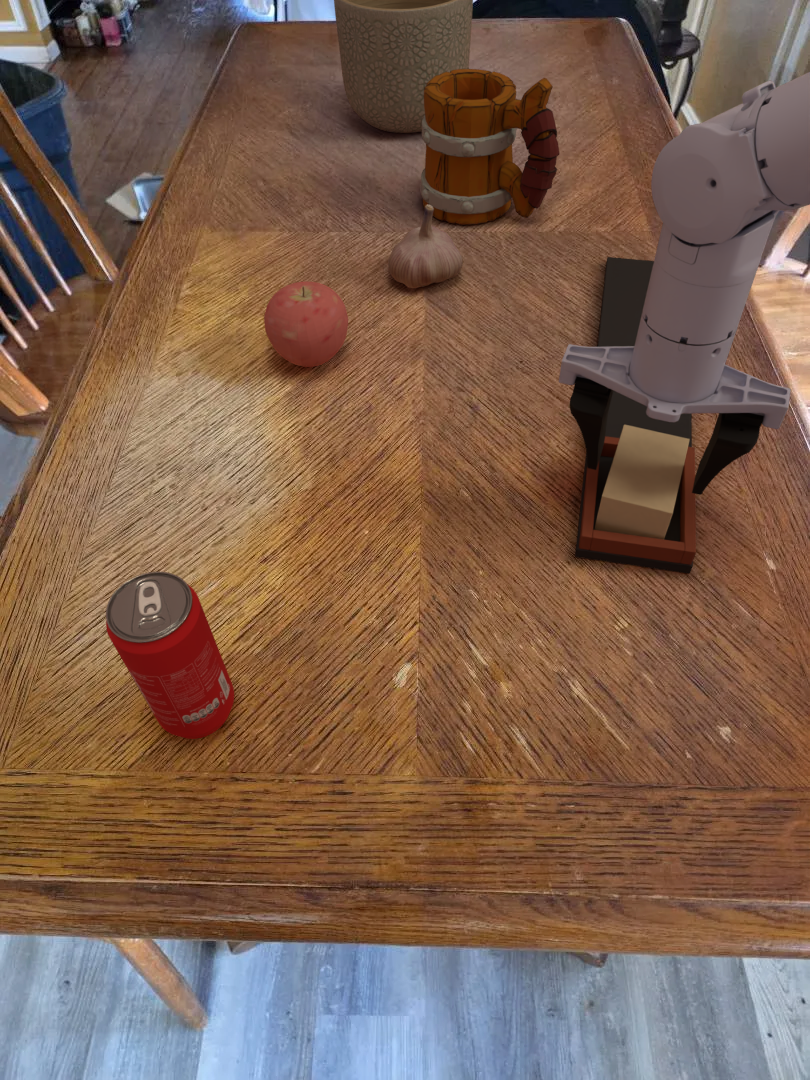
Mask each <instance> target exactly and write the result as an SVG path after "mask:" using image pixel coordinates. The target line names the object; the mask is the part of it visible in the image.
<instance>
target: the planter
mask: <svg viewBox="0 0 810 1080" xmlns="http://www.w3.org/2000/svg"><path fill="white" fill-rule="evenodd" d="M333 5H334V16H335V25H336V33H337V40H338V49H339V50H338V51H339V56H340V57H339V59H340V66H341V75H342V82H343V87H344V92H345V95H346V98H347V101H348V103H349V105H350V107H351V109H352V110H353V111H354V113H355V114H356V115H357V116H358V117H359V118H361V119H362V120H363V122H365V123H367V124H368V125H370V126H371V127H373V128H376V129H378V130H380V131H384V132H388V133H394V134H414V133H422V120H423V117H424V115H425V110H424V87H426V85H427V83H428V82H429V81H430V80H431V79H432V78H433V77H435V76H436V75H440V74H442V73H444V72H450V71H452V70H457V69H470V58H471V57H470V54H471V42H472V41H471V38H472V24H473V11H474V9H473V5H474V0H333Z"/></svg>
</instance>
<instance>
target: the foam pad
mask: <svg viewBox="0 0 810 1080" xmlns="http://www.w3.org/2000/svg"><path fill="white" fill-rule="evenodd" d="M689 440H690V439H687V438H683V437H678V436H674V435H669V434H665V433H660V432H656V431H651V430H647V429H642V428H638V427H633V426H629V425H624V426H623V429H622V433H621V436H620V439H619V442H618V446H617V449H616V452H615V455H614V459H613V462H612V465H611V468H610V472H609V475H608V478H607V481H606V485H605V488H604V491H603V494H602V498H601V503H600V507H599V511H598V515H597V520H596V524H595V528H594V530H600V531H607V532H614V533H621V534H628V535H635V536H642V537H649V538H656V539H663V540H664V538H665V535H666V532H667V529H668V526H669V523H670V520H671V517H672V514H673V510H674V506H675V502H676V497H677V493H678V488H679V484H680V480H681V475H682V471H683V467H684V462H685V458H686V454H687V449H688V445H689Z"/></svg>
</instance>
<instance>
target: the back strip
mask: <svg viewBox="0 0 810 1080" xmlns="http://www.w3.org/2000/svg"><path fill="white" fill-rule="evenodd" d="M605 262H606V263H605V269H604V270H605V271H604V278H603V287H602V288H603V289H602V296H601V297H602V298H601V307H600V317H599V325H598V326H599V327H598V336H597V344H596V347H620V346H635V342H636V338H637V333H638V329H639V325H640V320H641V316H642V312H643V307H644V303H645V298H646V294H647V290H648V285H649V281H650V277H651V272H652V268H653V264H654V260H645V259H636V258H635V259H634V258H633V259H632V258H624V257H623V258H622V257H614V256H613V257H612V256H607V257H606V261H605ZM646 410H647V406H645V405H643V404H641V403H639V402H637V401H635V400H633V399H631V398H628V397H626V396H624V395H622V394H620V393H618V392H616V391H613V395H612V399H611V403H610V407H609V412H608V417H607V426H606V434H605V441H604V445H603V449H602V453H601V456H600V459H599V463H598V466H597V469H596V470H594V469H589V468H588V467H587V452H586V451H585V458H584V467H583V476H582V484H581V495H580V505H579V513H578V514H579V515H578V516H579V517H578V521H577V522H578V523H577V532H576V533H577V534H576V543H575V551H574V552H575V553H574V557H575V558H578V559H579V558H580V559H585V560H586V559H587V560H593V561H600V562H607V563H614V564H620V565H627V566H635V567H641V568H647V569H653V570H661V571H668V572H674V573H681V574H691V572H692V569H693V566H694V558H695V557H696V554H697V525H696V523H697V517H696V513H697V512H696V511H697V510H696V509H697V508H696V494H694V493H692V490H693V485H694V480H695V476H696V448H695V447H694V446H693V435H692V434H693V433H692V431H693V429H692V428H693V427H692V425H693V424H692V423H693V422H692V414H681V415H680V418H679V420H678V421H676V422H667V421H663V420H658V419H654V418H651V417H649V416H648V415H647V414H646ZM624 425H629V426H633V427H638V428H642V429H647V430H651V431H656V432H660V433H665V434H669V435H674V436H678V437H683V438H687V439H690V440H689V445H688V449H687V454H686V458H685V462H684V467H683V471H682V475H681V480H680V484H679V488H678V493H677V497H676V502H675V506H674V510H673V514H672V517H671V520H670V523H669V526H668V529H667V532H666V535H665V538H664V540H663V539H656V538H649V537H642V536H635V535H628V534H621V533H614V532H607V531H600V530H594V528H595V524H596V520H597V515H598V511H599V507H600V503H601V498H602V494H603V491H604V488H605V485H606V481H607V478H608V475H609V472H610V468H611V465H612V462H613V459H614V455H615V452H616V449H617V446H618V442H619V439H620V436H621V433H622V429H623V426H624Z"/></svg>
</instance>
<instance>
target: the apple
mask: <svg viewBox="0 0 810 1080" xmlns="http://www.w3.org/2000/svg"><path fill="white" fill-rule="evenodd" d="M263 323H264V331H265V334H266V337H267V339H268V341H269V343H270V344H271V347H272V348H273V349H274V350H275V352H276V353H277V354H278V355H279V356H280V357H281V358H283V359H284V360H286V361H287V362H289V363H291V364H292V365H296V366H298V367H304V368H313V367H318V366H321V365H324V364H326V363H327V362H329V361H331V359H332V358H334V357H336V355H337V354H338V352H339V351H340V349H342V347H343V345H344V343H345V341H346V340H347V339H346V338H347V335H348V328H349V327H348V326H349V316H348V312H347V307H346V305H345V302H344V301H343V300H342V298H341V297H340V296H339V294H338V293H337V292H336V291H335V290H333V289H332V288H331V287H329V286H327V285H326V284H323V283H320V282H317V281H309V280H307V281H298V282H292V283H290V284H287V285H285V286H283V287H281V288H280V289H278V291H276V292H274V294H273V295H272V296H271V298H270V300H269V301H268V303H267V304H266V308H265V311H264V316H263Z"/></svg>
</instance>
